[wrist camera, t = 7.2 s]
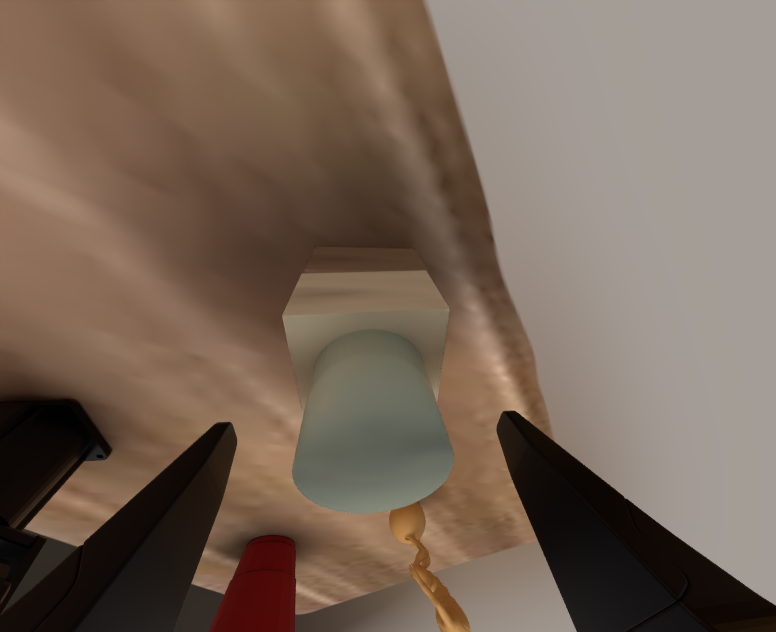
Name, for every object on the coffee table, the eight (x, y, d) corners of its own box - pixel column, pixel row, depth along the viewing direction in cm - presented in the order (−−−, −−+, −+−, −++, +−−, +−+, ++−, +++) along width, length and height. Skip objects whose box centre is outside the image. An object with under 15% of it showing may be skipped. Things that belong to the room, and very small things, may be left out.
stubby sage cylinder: (418, 412, 13) (441, 507, 9) (316, 417, 12) (300, 518, 9) (431, 328, 10) (468, 413, 7) (307, 329, 10) (281, 420, 6)
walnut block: (406, 329, 20) (416, 365, 17) (322, 330, 19) (315, 368, 16) (414, 248, 17) (429, 271, 14) (315, 245, 16) (304, 269, 13)
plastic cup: (204, 552, 33) (135, 731, 23) (260, 515, 30) (210, 701, 20) (278, 571, 38) (249, 726, 28) (333, 541, 35) (323, 701, 25)
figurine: (372, 490, 30) (381, 665, 20) (422, 471, 29) (459, 643, 19) (403, 520, 34) (424, 677, 24) (448, 504, 33) (490, 660, 23)
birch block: (418, 364, 17) (434, 419, 13) (316, 370, 16) (306, 429, 13) (426, 270, 14) (449, 308, 10) (301, 273, 13) (281, 315, 10)
